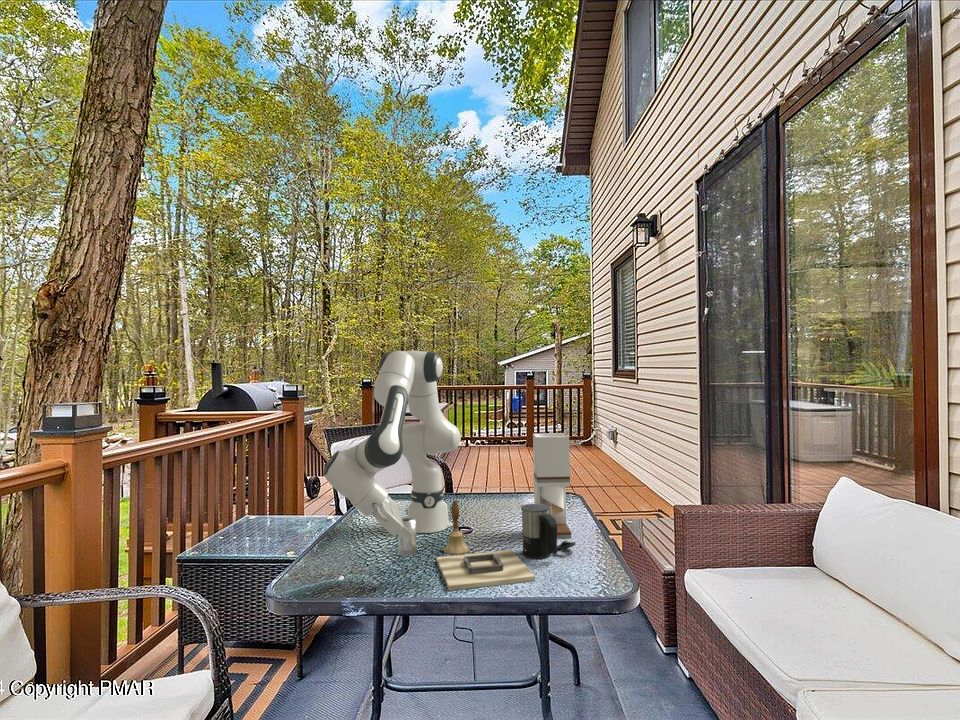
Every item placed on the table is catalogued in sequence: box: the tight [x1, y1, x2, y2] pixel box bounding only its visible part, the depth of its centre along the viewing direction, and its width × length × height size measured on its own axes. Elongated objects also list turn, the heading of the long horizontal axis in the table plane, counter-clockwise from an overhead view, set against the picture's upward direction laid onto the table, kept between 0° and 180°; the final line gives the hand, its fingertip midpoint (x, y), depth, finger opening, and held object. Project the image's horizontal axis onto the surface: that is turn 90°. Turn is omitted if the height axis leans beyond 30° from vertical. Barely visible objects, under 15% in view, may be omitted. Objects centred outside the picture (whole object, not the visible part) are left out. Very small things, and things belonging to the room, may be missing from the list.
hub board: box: [436, 549, 536, 591], centre depth 144 cm, size 22×24×3 cm
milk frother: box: [520, 503, 577, 559], centre depth 158 cm, size 14×16×15 cm
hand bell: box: [443, 500, 470, 556], centre depth 162 cm, size 8×8×16 cm
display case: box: [532, 432, 572, 539], centre depth 178 cm, size 11×11×35 cm
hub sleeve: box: [397, 516, 417, 557], centre depth 138 cm, size 5×5×9 cm
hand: (409, 532), depth 138 cm, fingers closed on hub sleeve, 5 cm apart
